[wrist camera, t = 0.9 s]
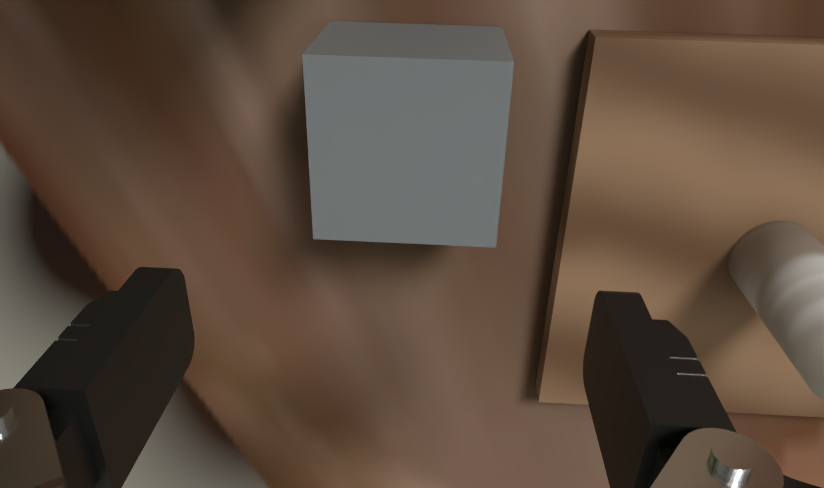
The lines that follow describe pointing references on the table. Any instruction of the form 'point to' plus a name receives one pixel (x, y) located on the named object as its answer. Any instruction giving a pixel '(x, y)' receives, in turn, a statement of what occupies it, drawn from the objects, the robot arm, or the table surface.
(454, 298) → the table surface
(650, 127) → the wooden square tile
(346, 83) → the matte grey cube
